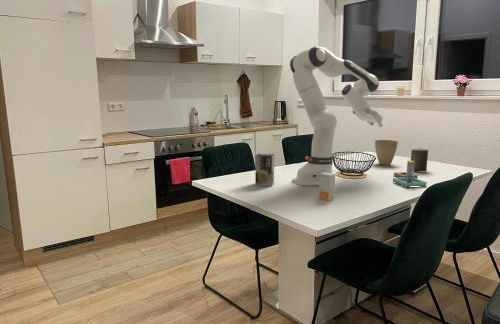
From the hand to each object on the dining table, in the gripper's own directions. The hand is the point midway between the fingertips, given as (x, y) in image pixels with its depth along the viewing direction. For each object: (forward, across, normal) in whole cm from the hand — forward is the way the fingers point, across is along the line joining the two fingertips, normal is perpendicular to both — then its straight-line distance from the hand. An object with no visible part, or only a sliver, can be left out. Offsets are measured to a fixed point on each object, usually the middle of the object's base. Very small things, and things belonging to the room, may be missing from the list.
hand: (376, 125), depth 226 cm
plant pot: (+38, +27, +4) cm, 47 cm away
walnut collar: (+29, -15, +13) cm, 35 cm away
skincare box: (-14, -42, +56) cm, 71 cm away
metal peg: (+24, -27, +16) cm, 39 cm away
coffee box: (-29, -10, +71) cm, 77 cm away
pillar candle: (+45, +4, -2) cm, 45 cm away
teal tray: (+24, -27, +17) cm, 40 cm away
